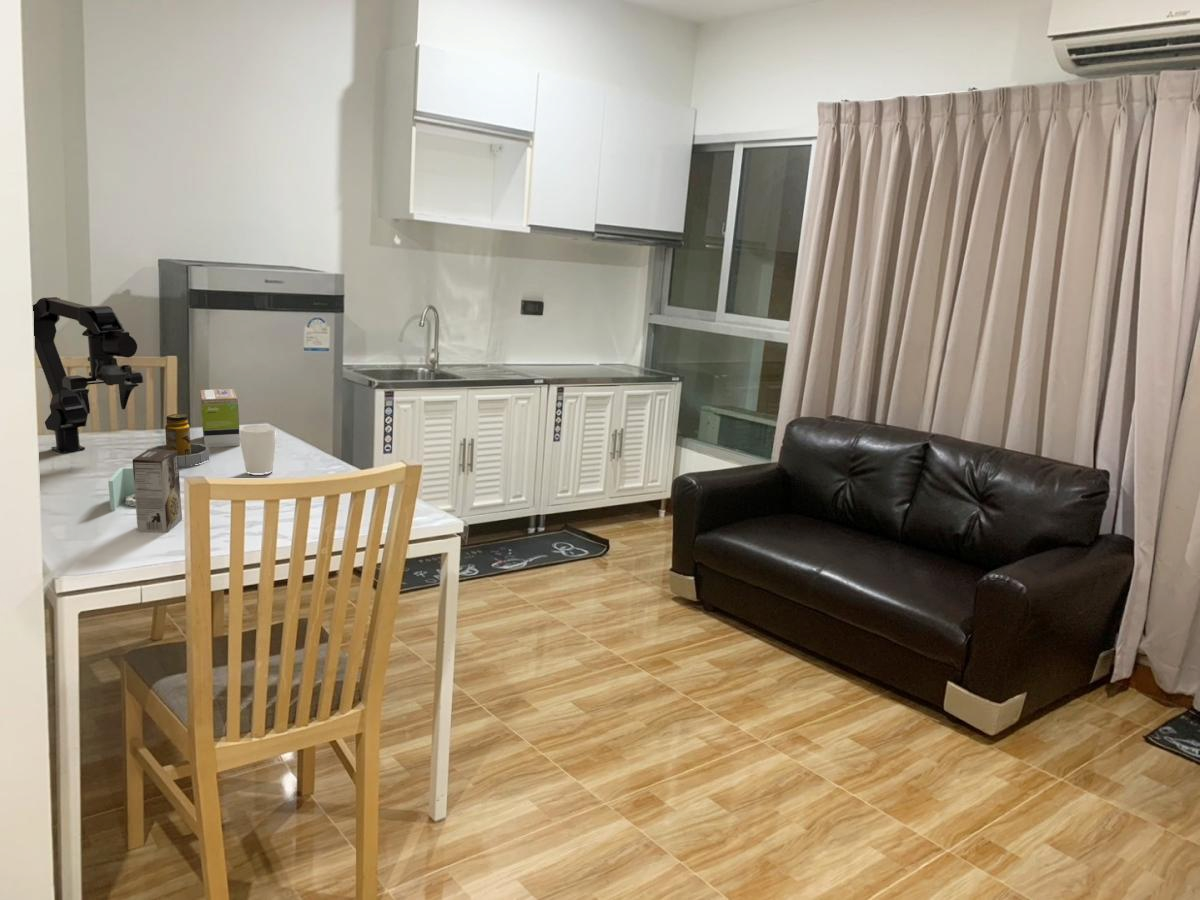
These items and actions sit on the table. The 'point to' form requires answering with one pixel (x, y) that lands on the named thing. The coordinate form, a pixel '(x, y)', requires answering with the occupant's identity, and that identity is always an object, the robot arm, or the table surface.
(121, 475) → the right angle wall
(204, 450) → the round grey tray
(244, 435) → the cup
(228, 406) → the tea box
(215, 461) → the table surface
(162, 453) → the coffee box
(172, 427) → the condiment
